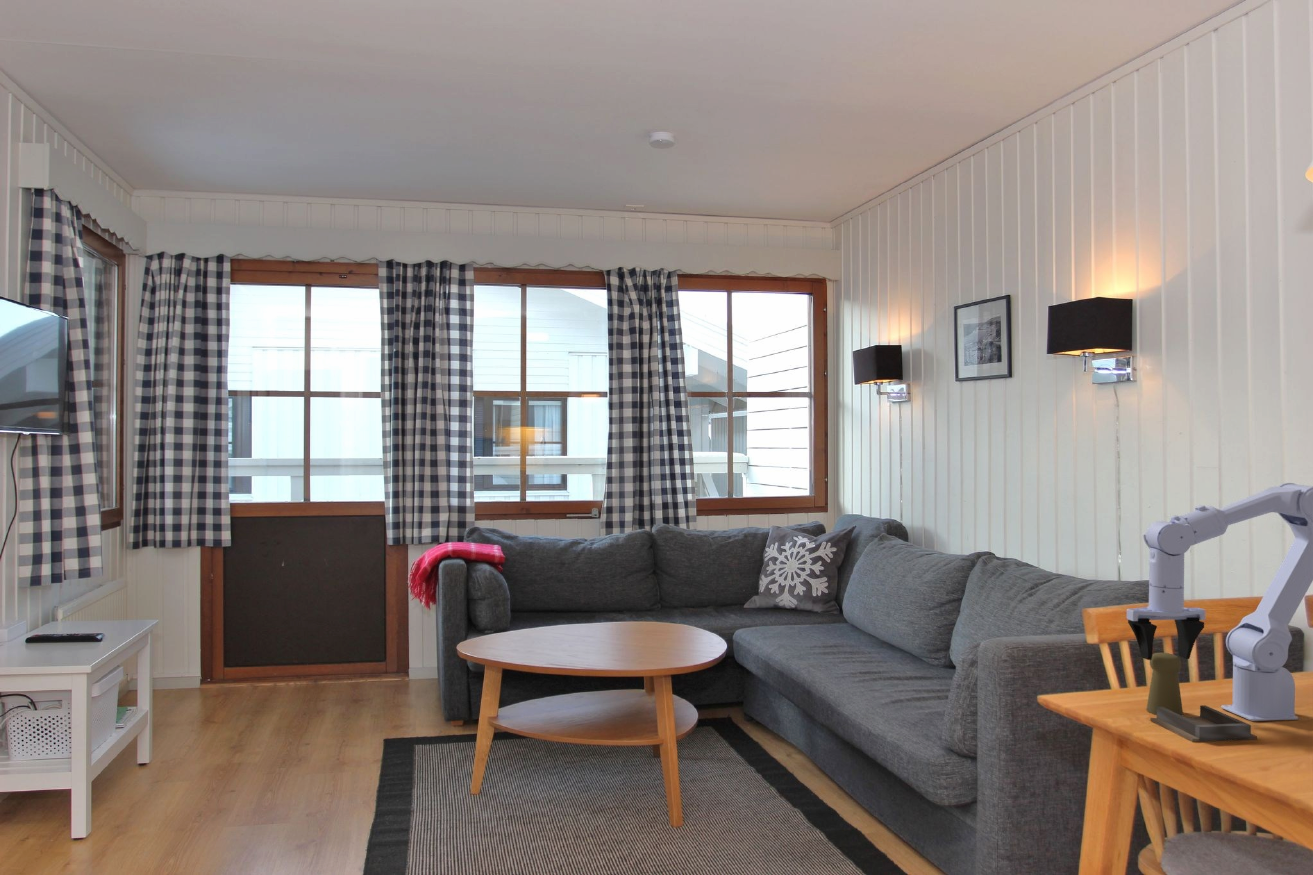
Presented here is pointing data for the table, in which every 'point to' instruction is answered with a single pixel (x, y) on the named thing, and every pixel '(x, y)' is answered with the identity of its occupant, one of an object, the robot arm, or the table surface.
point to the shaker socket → (1204, 725)
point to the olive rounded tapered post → (1165, 683)
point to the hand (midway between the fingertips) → (1165, 658)
